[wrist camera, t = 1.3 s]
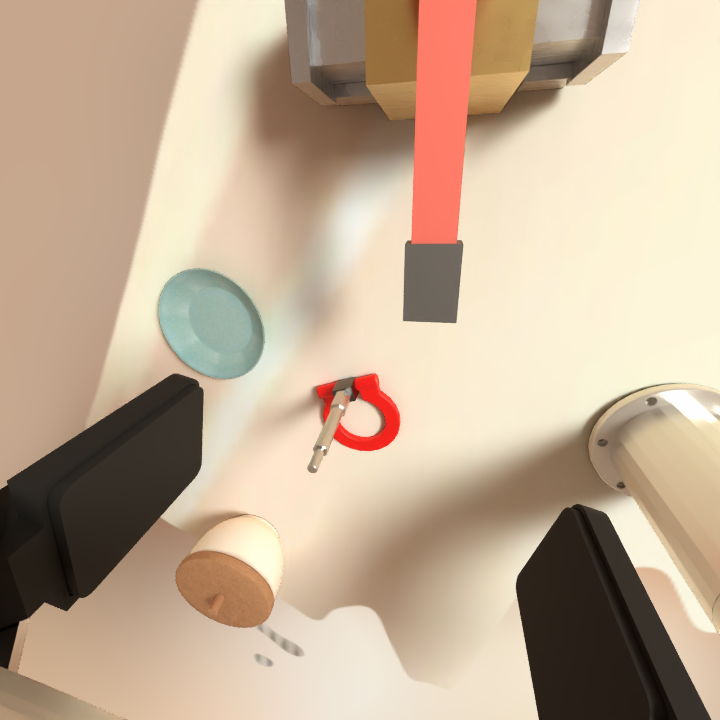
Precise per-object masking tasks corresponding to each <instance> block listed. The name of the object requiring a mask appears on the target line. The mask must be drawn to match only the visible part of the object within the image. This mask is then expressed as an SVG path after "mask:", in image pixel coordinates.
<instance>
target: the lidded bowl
mask: <svg viewBox="0 0 720 720" xmlns="http://www.w3.org/2000/svg"><path fill="white" fill-rule="evenodd" d="M283 570H284V552H283V547H282V544H281V542H280V540H279V534H278V532H277V530H276V529H275V528H274V526H273V525H272V524H271V523H269V522H268V521H267V520H265V519H263V518H261V517H258V516H255V515H241V516H239V517H236V518H231V519H228V520H225V521H223V522H221V523H219V524H217V525H216V526H214V527H213V528H212V529H210V530H209V531H208V532H207V533H206V534H205V535H204V536H203V537H202V538H201V539H200V540H199V542H198V543H197V544H196V545H195V546H194V548H193V549H192V550H191V552H190V553H189V555H188V556H187V557H186V558H185V559H184V560H183V561H182V562H181V564H180V565H179V567H178V569H177V571H176V584H177V587H178V589H179V591H180V593H181V594H182V596H183V597H184V598H185V599H186V601H187V602H188V603H189V604H190V605H191V606H192V607H194V608H195V609H196V610H197V611H199V612H200V613H202V614H203V615H205V616H207V617H208V618H210V619H213V620H215V621H217V622H220V623H222V624H225V625H229V626H234V627H243V628H247V627H254V626H257V625H260V624H262V623H263V622H265V621H266V620H267V619H268V617H269V615H270V613H271V611H272V608H273V604H274V600H275V598H276V596H277V593H278V590H279V587H280V584H281V580H282V576H283Z"/></svg>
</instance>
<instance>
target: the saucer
mask: <svg viewBox="0 0 720 720" xmlns="http://www.w3.org/2000/svg"><path fill="white" fill-rule="evenodd" d="M159 320H160V325H161V328H162V331H163V334H164V336H165V338H166V340H167V342H168V343H169V345H170V346H171V348H172V349H173V351H174V352H175V353H176V355H177V356H178V357H179V358H180V359H181V360H182V361H183V362H185V363H186V364H187V365H188V366H190V367H191V368H193V369H194V370H196V371H198V372H200V373H202V374H204V375H206V376H209V377H213V378H218V379H231V378H236V377H240V376H242V375H244V374H246V373H248V372H249V371H251V370H252V369H253V368H254V367H255V365H256V364H257V363H258V361H259V359H260V357H261V355H262V352H263V348H264V343H265V335H264V327H263V322H262V319H261V316H260V314H259V311H258V309H257V307H256V305H255V304H254V302H253V301H252V299H251V298H250V296H249V295H248V294H247V293H246V292H245V291H244V290H243V289H242V288H241V287H240V286H239V285H238V284H237V283H236V282H234V281H233V280H232V279H230V278H229V277H227V276H225V275H223V274H221V273H218V272H216V271H212V270H208V269H201V268H194V269H188V270H184V271H182V272H180V273H178V274H176V275H175V276H173V277H172V278H171V279H170V280H169V281H168V282H167V283H166V285H165V286H164V289H163V290H162V293H161V296H160V300H159Z"/></svg>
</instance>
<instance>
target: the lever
mask: <svg viewBox="0 0 720 720" xmlns="http://www.w3.org/2000/svg"><path fill="white" fill-rule="evenodd" d="M476 2H477V0H419V21H418V52H417V84H416V115H415V147H414V178H413V210H412V241H407V242H406V244H405V267H404V307H403V321H416V322H442V323H456V320H457V309H458V298H459V287H460V275H461V264H462V253H463V242H462V240H457V234H458V222H459V210H460V197H461V185H462V173H463V161H464V148H465V136H466V124H467V112H468V99H469V87H470V75H471V63H472V51H473V38H474V26H475V14H476Z"/></svg>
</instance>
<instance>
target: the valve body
mask: <svg viewBox="0 0 720 720" xmlns="http://www.w3.org/2000/svg"><path fill="white" fill-rule="evenodd" d="M639 1H640V0H477V2H476V14H475V26H474V38H473V51H472V63H471V75H470V87H469V99H468V112H467V115H474V114H488V113H500V111H501V110H502V109H503V107H504V106H505V104H506V103H507V102H508V100H509V99H510V97H511V96H512V95H513V93H514V92H515V90H516V89H517V91H529V90H541V89H554V88H563V87H564V86H565V85H566V86H569V85H581V84H587V83H588V82H589V81H591V80H592V79H593V78H594V77H596V76H597V75H598V74H600V73H601V72H602V71H604V70H605V69H606V68H608V67H609V66H610V65H612V64H613V63H614V62H615V61H617V60H618V59H619V58H621V57H622V56H623V55H625V54H626V53H627V52H628V50H629V46H630V41H631V37H632V32H633V28H634V24H635V19H636V15H637V10H638V6H639ZM285 10H286V22H287V34H288V45H289V57H290V69H291V81H292V84H293V85H294V86H296V87H297V88H298V89H300V90H301V91H302V92H304V93H305V94H306V95H308V96H309V97H311V98H312V99H313V100H315V101H316V102H317V103H319V104H320V105H321V106H322V105H334V104H338V105H339V106H341V105H354V104H366V103H377V102H378V104H379V105H380V106H381V108H382V109H383V111H384V112H385V114H386V115H387V116H388V118H389V119H390V120H402V119H415V115H416V84H417V52H418V21H419V0H285Z"/></svg>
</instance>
